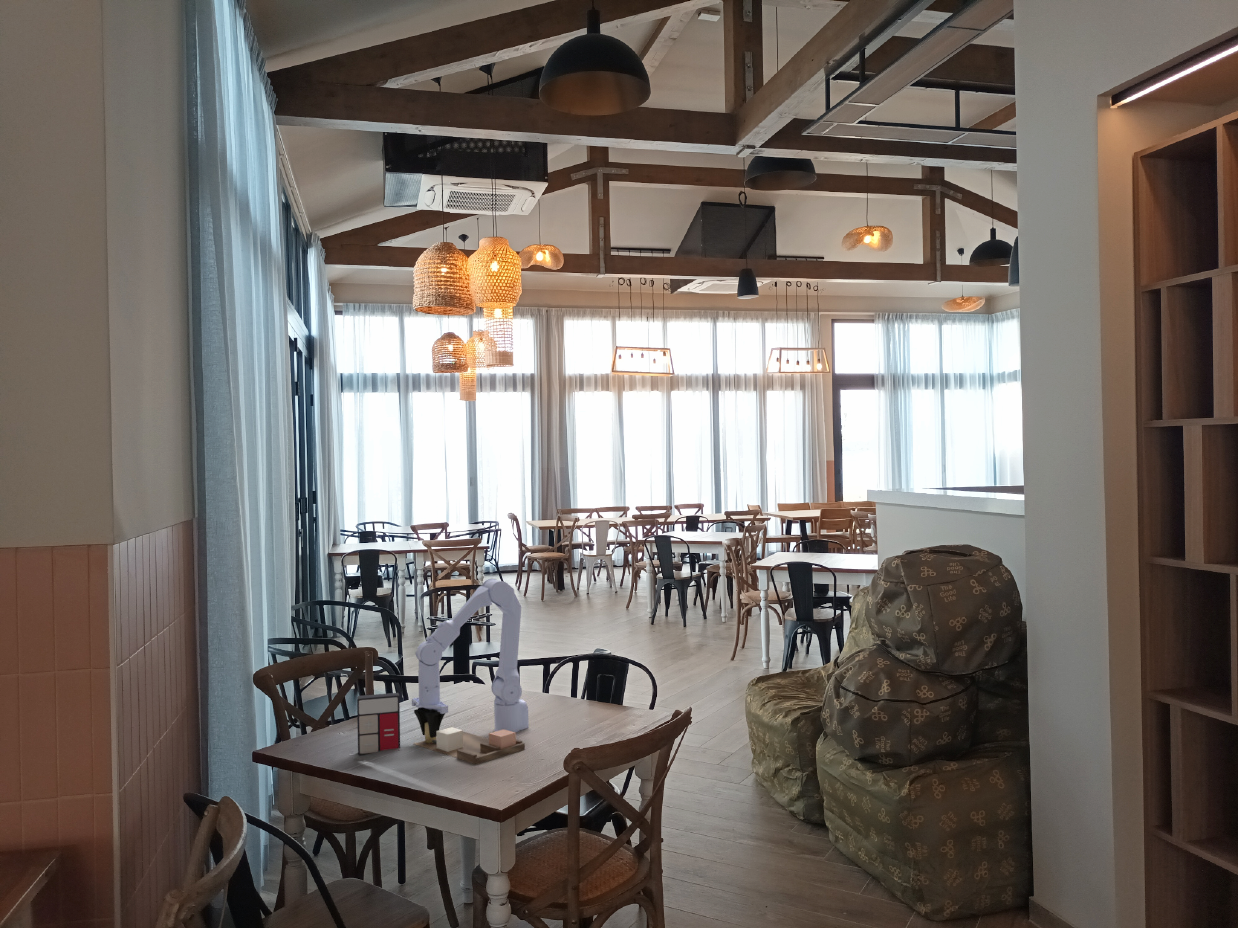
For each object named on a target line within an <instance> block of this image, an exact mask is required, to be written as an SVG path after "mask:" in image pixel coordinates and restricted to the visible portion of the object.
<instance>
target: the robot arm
mask: <svg viewBox="0 0 1238 928" xmlns="http://www.w3.org/2000/svg"><path fill="white" fill-rule="evenodd" d="M493 604H494V605H495V606H496V607H497V608H498V610H500V611H501V612H502V617H501V618H502V620H501V632H500V633H501V634H500V645H499V659H498V668H497V669H496V672H495V677H494V679H493V681H492V682H491V692H492V694H493V696H495V697H494V700H493V706H494V707H493V709H494V710H493V712H494V714H493V715H494V732H496V731H499V730H503V729H504V730H508V731H512V732H516V733H517V732H520V731H522V730H525V729H529V728H530V727H529V724H530V723H529V707H528V704H527V702H526V701H525V700H524V699H523V698H522V699H521V697H522V693H523V689H522V685H521V684H520V679H521V678H520V674H519V671H518V661H519V660H518V659H519V658H518V656H519V646H520V645H519V644H520V643H519V642H520V632H521V630H520V629H521V618H522V616H521V615H522V606H521V603H520V600H519V599H518V597H517V595H516V593H515V589H514V588H513V587H512V586H511V585H510V584H509V583H508V582H506V581H502V580H497V579H496V578H489V579H486V580H484V582H483V583H482V585H480V586H478V587H477V588H476V590H474V592H473V594H472V595H471V596H470V597H469V599H468V600H467V601H466V602H465V603H464V604H463V606H462V607H460V609H459V610H458V611H457V612H456V614H455V615H454V616H453V618H452V619H450V620H447V619H446V620H444V621H443V622H439V623H437V626H436V627H437V628H436V629H435V631H433V632H432V633H431V634H430V636H427V637H425V641H423V642H421V643H420V644H419V645H418V646H417V648H416V651H415V652H414V653H415V657H416V659H418V671H417V672H418V673H417V674H418V677H417V679H418V697H414V698H411V706H412V707H416V708H417V709H414V710H413V714H414V715H415V716H416V719H417V721H418V723H419V726H420V729H421V733H422V736H425V723H426V722H428V725H429V734H430V737H431V738H433V737H437V735H436V731H439V730H440V728H441V724H442V721H443V719H444V717H445V716H446V714H448V713H449V705H447V704H446V703H444V702H443V701H441V684H440V683H441V681H440V680H441V679H440V672H441V671H440V661H441V659H442V657H443V653H444V652H445V651H446V650H447V649H448V648H449V647H450V646H451V645H452V643H453V642H454V641H455V640H456V639H457V638H458V637H459V636H460V635H461V634H460V633H461V627H462V626H463V625H464V624H466V622H468V620H469V619H470V618H472V616H473V615H474V614H476V613H477V612H478V611H479V610H480V608H484V607H488V606H489V607H490V606H493Z"/></svg>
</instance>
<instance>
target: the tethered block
mask: <svg viewBox="0 0 1238 928" xmlns="http://www.w3.org/2000/svg"><path fill="white" fill-rule="evenodd" d="M463 732H464V731H463V729H460V728H456V727H453V726H451V727H448V728H444V729H439V731H436V735H437V740H436V737H433V738H431V737H430V734H429V725H428V722H426V723H425V735H424V741H425V742H426V743H436V744H437V748H438V749H441V750H444V751H447V752H448V751H452V750H455V749H459V748H462V747H463Z"/></svg>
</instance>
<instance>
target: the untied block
mask: <svg viewBox="0 0 1238 928" xmlns="http://www.w3.org/2000/svg"><path fill="white" fill-rule="evenodd" d="M516 734H517V732H512V731H508V730H504V729H503V730H499V731H496V732H495V731H493V732H490V733H488V739H489V744H490V745H493V746H497V747H500V749H503V748H507V747H510V746H513V745H516V739H517V737H516V736H517V735H516Z"/></svg>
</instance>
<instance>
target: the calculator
mask: <svg viewBox="0 0 1238 928" xmlns="http://www.w3.org/2000/svg"><path fill="white" fill-rule="evenodd" d="M356 698H357V699H356V704H357V705H356V710H357V711H356V712H357V719H356V721H357V722H356V723H357V724H356V725H357V754H358V755H359V756H362V755H363V756H365V755H371V754H374V753H377V752H381V751H386V750H394V749H395V750H396V749H400V748H401V717H400V716H401V715H400V714H401V713H400V712H401V711H400V707H401V706H400V705H401V704H400V694H399V692H391V693H390V692H389V693H388V692H387V693H379V694H365V695H357V697H356Z"/></svg>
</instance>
